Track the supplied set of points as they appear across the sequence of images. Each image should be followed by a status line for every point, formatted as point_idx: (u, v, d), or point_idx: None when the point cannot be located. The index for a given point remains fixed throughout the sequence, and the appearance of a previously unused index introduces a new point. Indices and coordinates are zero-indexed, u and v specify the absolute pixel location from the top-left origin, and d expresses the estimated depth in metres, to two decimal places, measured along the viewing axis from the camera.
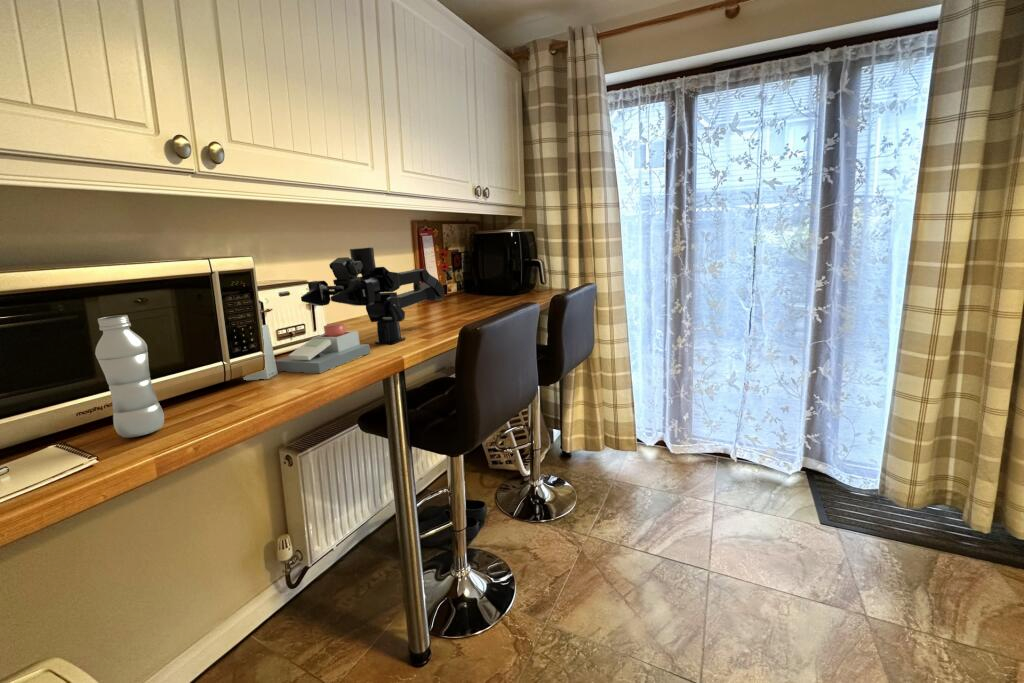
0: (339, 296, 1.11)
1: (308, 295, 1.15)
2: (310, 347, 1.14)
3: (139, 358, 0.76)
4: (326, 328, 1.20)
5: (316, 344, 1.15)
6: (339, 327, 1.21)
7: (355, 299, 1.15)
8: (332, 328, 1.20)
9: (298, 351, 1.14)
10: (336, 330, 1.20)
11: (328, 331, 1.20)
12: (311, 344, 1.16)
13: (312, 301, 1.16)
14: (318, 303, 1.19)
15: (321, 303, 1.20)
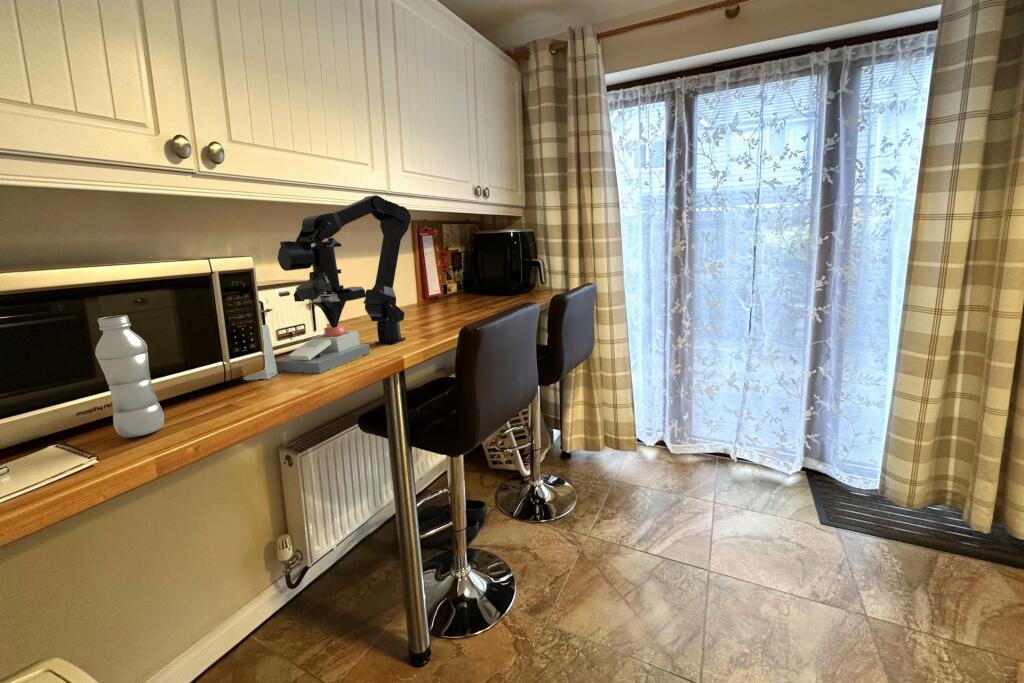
0: (335, 320, 1.22)
1: None
2: (310, 347, 1.14)
3: (139, 358, 0.76)
4: (326, 330, 1.20)
5: (316, 344, 1.15)
6: (339, 329, 1.21)
7: (340, 303, 1.22)
8: (332, 330, 1.20)
9: (298, 351, 1.14)
10: (336, 332, 1.21)
11: (329, 333, 1.20)
12: (311, 344, 1.16)
13: None
14: None
15: None
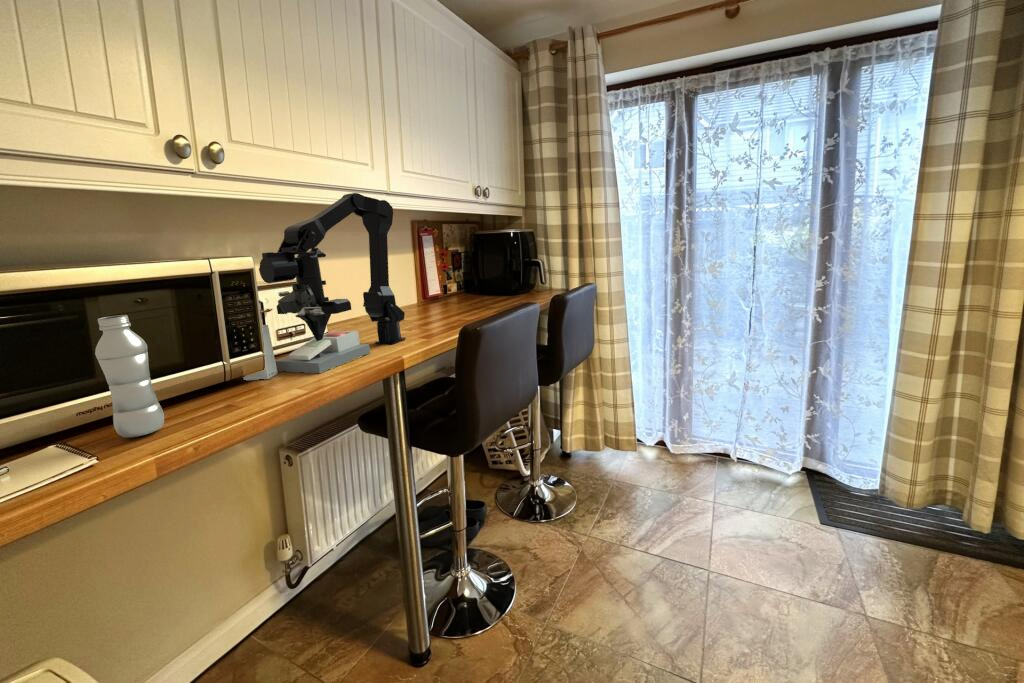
0: (319, 333, 1.17)
1: None
2: (310, 347, 1.14)
3: (139, 358, 0.76)
4: (327, 336, 1.21)
5: (316, 344, 1.15)
6: (340, 335, 1.21)
7: (325, 316, 1.17)
8: (333, 336, 1.20)
9: (298, 351, 1.14)
10: None
11: None
12: (311, 344, 1.16)
13: None
14: None
15: None
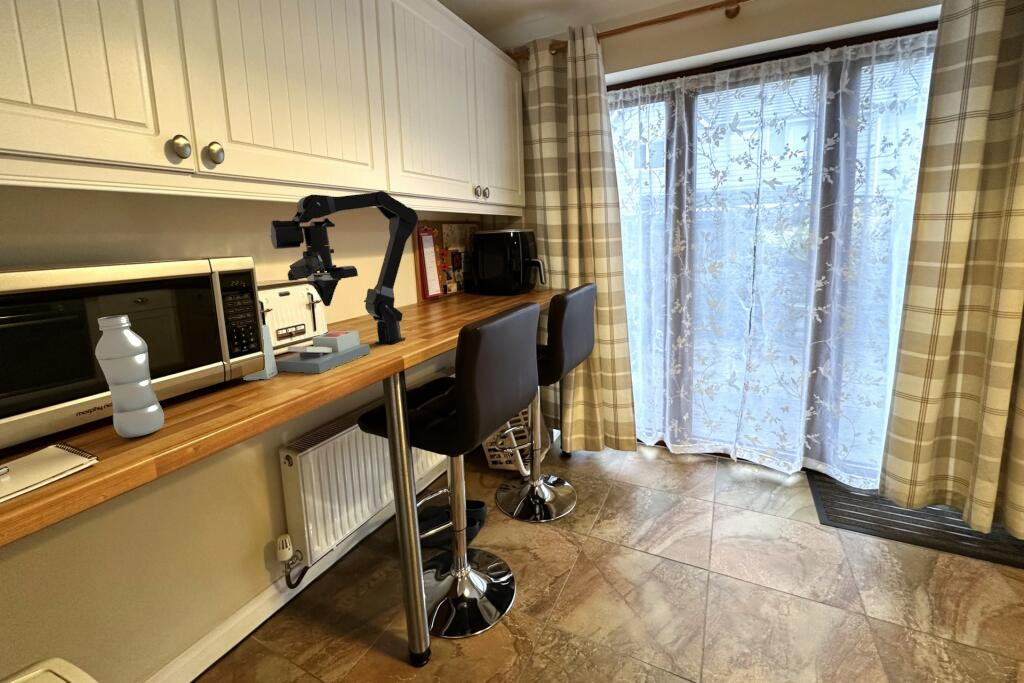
0: (328, 298, 1.25)
1: None
2: None
3: (139, 358, 0.76)
4: (327, 336, 1.21)
5: None
6: (340, 335, 1.21)
7: (333, 282, 1.25)
8: (333, 336, 1.20)
9: None
10: None
11: None
12: (313, 346, 1.16)
13: None
14: None
15: None
